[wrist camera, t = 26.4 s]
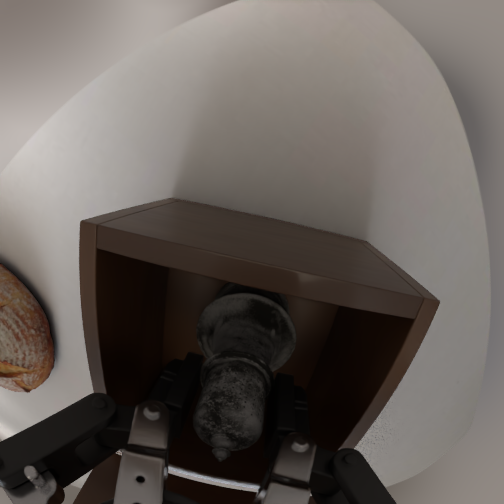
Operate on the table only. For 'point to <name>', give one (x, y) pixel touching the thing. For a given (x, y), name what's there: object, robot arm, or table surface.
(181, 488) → the wooden box lid
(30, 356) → the bread
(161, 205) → the brown wooden box
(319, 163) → the table surface
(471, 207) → the table surface
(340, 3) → the table surface
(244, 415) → the chess piece
